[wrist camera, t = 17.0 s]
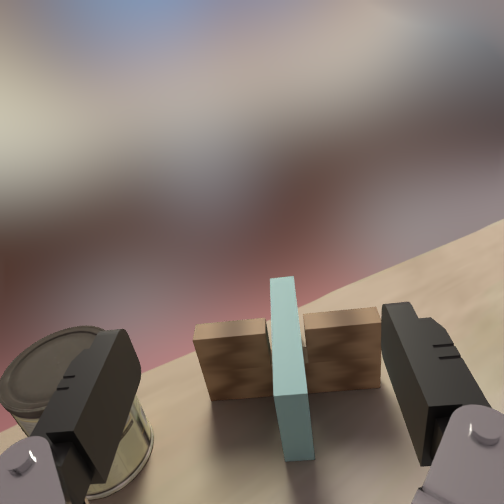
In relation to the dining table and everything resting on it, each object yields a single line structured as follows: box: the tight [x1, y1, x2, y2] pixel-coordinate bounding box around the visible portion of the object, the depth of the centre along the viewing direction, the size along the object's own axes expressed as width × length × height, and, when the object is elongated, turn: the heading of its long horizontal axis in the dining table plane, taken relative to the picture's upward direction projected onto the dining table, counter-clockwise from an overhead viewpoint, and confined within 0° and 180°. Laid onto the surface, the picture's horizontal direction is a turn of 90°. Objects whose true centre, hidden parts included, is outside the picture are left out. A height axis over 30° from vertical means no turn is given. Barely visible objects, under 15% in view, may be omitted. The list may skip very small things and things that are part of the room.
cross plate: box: [270, 276, 315, 462], centre depth 44 cm, size 3×18×10 cm, turn 179°
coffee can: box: [0, 326, 154, 500], centre depth 40 cm, size 10×10×14 cm
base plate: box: [193, 307, 381, 401], centre depth 45 cm, size 20×2×10 cm, turn 88°
